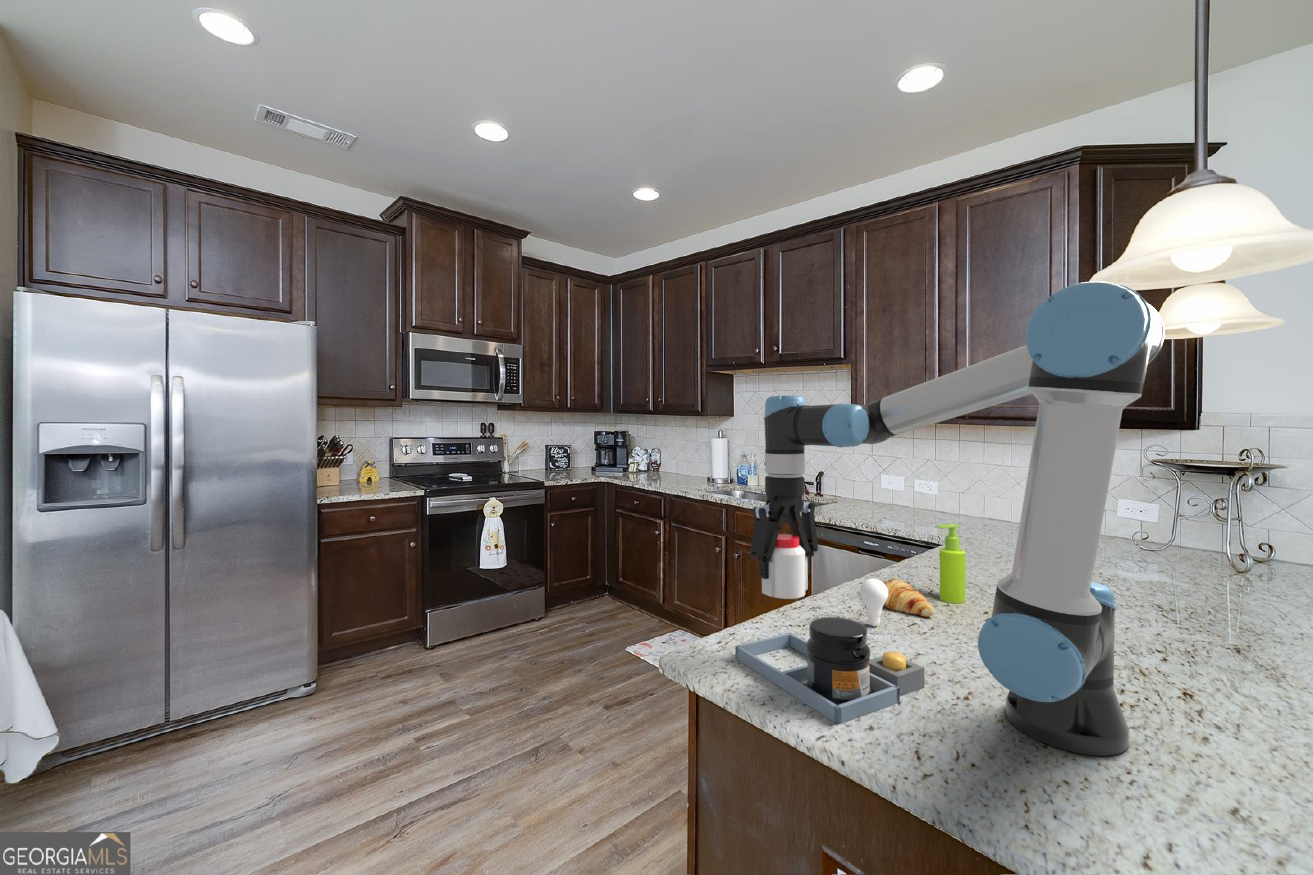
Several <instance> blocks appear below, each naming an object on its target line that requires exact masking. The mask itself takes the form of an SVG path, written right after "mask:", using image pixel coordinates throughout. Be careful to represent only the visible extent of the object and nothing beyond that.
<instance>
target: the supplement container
mask: <svg viewBox="0 0 1313 875" xmlns="http://www.w3.org/2000/svg"><path fill="white" fill-rule="evenodd" d="M808 628H809V638H808V639H807V640H806V641H807V644H806V647H807V655H806V656H807V657H806V658H807V659H806V660H807V662H806V665H807V681H806V687H808V688H809V689H811V690H813V691H814V692H816V693H818V694H819V695H821V696H823V697H824V698H826V699H828V700H829V701H831V702H833V703H834V704H836V705H840V704H843V703H846V702H849V701H852V700H855V699H858V698H861V697H864V696H866V695H869V694H871V689H870V657H871V648H870V646H869V645H868V643H867V642H868V629H867V627H865V625H863V624H861V623H860V622H857V621H855V620H851V619H849V618H842V617H835V616H834V617H831V616H830V617H829V616H828V617H820V618H816V619H813V620H812V621H811V622H810V623H809V627H808Z"/></svg>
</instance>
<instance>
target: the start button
mask: <svg viewBox="0 0 1313 875" xmlns="http://www.w3.org/2000/svg"><path fill="white" fill-rule="evenodd" d="M882 656H883V666H885V667H887V668H889V669H891V670H893V671H895V672H898V671H901V670H904V669H906V660H907V657H906V656H905V655H904V654H902V653H900V652H895V651H887V652H884V653H882Z"/></svg>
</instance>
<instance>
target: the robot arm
mask: <svg viewBox="0 0 1313 875" xmlns="http://www.w3.org/2000/svg"><path fill="white" fill-rule="evenodd" d="M1164 340H1165V324H1164V321H1163V319H1162V317H1161V315H1160V313H1159V312H1158V311H1157V310H1156V308H1155V307H1153V306H1152V304H1149V303H1148V302H1147V301H1146V300H1145V299H1144V298H1143V297H1142V296H1141V294H1140V293H1138V292H1137V291H1136V290H1134V289H1132V288H1130V287H1128V286H1126V285H1124V284H1123V285H1122V284H1118V283H1113V282H1107V281H1097V280H1095V281H1085V282H1080V283H1075V284H1072V285H1068V286H1065V287H1064V288H1062V289H1060V290H1057V291H1056V292H1054V293H1053V294H1051V295H1050V296H1049V297H1047V298H1046V299H1045V300H1043V302H1041V303H1040V304H1039V306H1038V307H1037V308H1036V309H1035V310H1034V312H1033V313H1032V315H1031V316H1030V319H1029V320H1028V322H1027V326H1026V330H1025V344H1026V345H1023V346H1020V347H1017V348H1014V349H1011V350H1009V351H1006V352H1004V353H1001V354H998V355H996V356H993V357H990V358H987V359H984V360H981V361H979V362H977V363H974V364H971V365H968V366H965V367H963V368H960V369H958V370H955V371H952V372H949V373H946V374H944V375H941V376H938V377H935V378H933V379H930V380H927V381H925V382H922V383H919V384H917V385H914V386H911V387H909V388H906V389H903V390H900V391H898V392H895V393H892V394H890V395H887V396H884V397H882V398H879V399H876V400H873V401H871V402H868V403H864V404H856V403H855V404H854V403H853V404H850V403H842V402H841V403H837V404H836V403H835V404H834V403H833V404H832V403H831V404H819V405H817V404H816V405H809V404H808V405H806V403H805V397H803V396H802V395H795V394H794V395H771V396H768V398H766V400H765V406H764V416H763V420H764V441H765V442H764V443H765V449H764V472H765V473H766V474H767V475H766V477H765V478H764V493H765V495H766V500H765V504H764V505H762V506H754V507H753V508H752V512H753V528H752V536H751V544H750V552H749V556H750V558H751V559H754V560H757V561H758V562H759V563H758V564H759V566H758V567H759V568H758V575H759V577H760V579H761V594H764V595H765V596H768V597H769V598H772V597H773V596H774V562H771V561H770V560H771V557H772V554H773V550H774V547H775V544H776V541H777V538H778V534H780V530H782V529H783V527H784V525H785V524H787V525H789V528H790V532H791V535H795V536H798V537H799V545H800V546H801V547H802V548H803V549H804V550H805V591H807V590H808V589H809V588H808V587H809V586H808V585H809V580H808V576H809V575H808V574H809V572H810V567H811V566H810V562H811V560H810V558H812V557H813V558H814V555H815V553H816V552H818V551H819V545H818V544H819V543H818V535H817V529H816V528H817V527H816V518H815V510H816V504H815V502H811V501H810V502H809V501H805V500H803V496H804V495H805V494H806V492H805V490H806V489H805V488H806V487H805V485H806V483H805V479H806V478H805V477H804V476H803V475H804V474H805V473H806V472H805V470H806V468H805V467H806V466H805V464H806V463H805V459H806V457H805V446H817V447H818V446H821V447H837V448H850V447H858V446H860V445H876V444H879V443H883V442H886V441H887V440H889V439H890V438H893V437H895V436H898V435H900V434H904V433H907V432H911V431H914V430H918V429H922V428H924V427H928V426H930V425H934V424H937V423H940V422H943V421H947V420H951V419H954V418H956V417H957V418H958V417H961V416H964V415H966V414H970V413H973V412H977V411H980V410H984V409H987V408H990V407H993V406H996V405H1000V404H1002V403H1007V402H1010V401H1013V400H1017V399H1019V398H1023V397H1026V396H1030V395H1033V396H1034V397H1035V398H1036V399H1037V401H1038V403H1039V404H1038V409H1037V410H1038V411H1037V415H1036V421H1035V422H1036V423H1035V428H1034V435H1033V439H1032V440H1033V442H1032V447H1031V452H1030V457H1029V458H1030V459H1029V465H1028V472H1027V477H1026V484H1025V490H1024V496H1023V502H1022V509H1021V515H1020V521H1019V527H1018V534H1017V540H1016V546H1015V551H1014V557H1013V565H1012V569H1011V570H1012V571H1011V573H1009V574H1007V575H1005V576H1003V577H1001V578H999V579H998V580H997V584H996V587H995V588H996V589H995V595H994V601H993V606H992V612H991V617H989V618H987V619H986V620H985V622H984V623H983V624H982V628H981V629H980V631H979V633H978V637H977V649H978V653H979V656H980V659H981V662H982V663H983V665H984V667H985V668H986V669H987V670H988V672H989V673H990V674H991V675H992V678H994V680H996V681H997V682H998V683H999V684H1000V685H1001V686H1002V687H1003V688H1005V689H1006V690H1008V693H1007V696H1006V697H1005V698H1006V699H1005V715H1006V718H1007V719H1008V721H1009V722H1010V723H1011V724H1012V725H1013V726H1014V727H1015V728H1017V729H1018V730H1019V731H1021V732H1022V733H1024V734H1025V735H1027V736H1029V737H1031V738H1033V739H1034V740H1037V741H1039V742H1041V743H1044V744H1046V745H1048V746H1052V747H1055V748H1057V749H1060V750H1064V751H1066V752H1067V751H1068V752H1072V753H1076V754H1082V755H1088V756H1099V757H1100V756H1101V757H1102V756H1103V757H1104V756H1105V757H1106V756H1108V757H1109V756H1115V755H1119V754H1122V753H1124V752H1126V751H1127V750H1128V748H1129V745H1130V729H1129V726H1128V723H1127V720H1126V718H1125V715H1124V712H1123V710H1122V707H1121V704H1120V702H1119V699H1118V695H1117V694H1116V690H1115V686H1114V685H1115V684H1114V683H1115V682H1114V678H1115V677H1114V676H1115V674H1114V673H1115V612H1117V606H1116V604H1115V595H1114V592H1113V590H1112V589H1111V588H1110V587H1108V586H1106V585H1103V584H1101V583H1098V582H1093V581H1092V580H1093V575H1094V570H1095V563H1096V558H1097V554H1098V553H1097V552H1098V547H1099V541H1100V536H1101V531H1102V525H1103V519H1104V516H1105V515H1104V514H1105V508H1106V502H1107V497H1108V492H1109V486H1110V483H1111V482H1110V481H1111V476H1112V471H1113V470H1112V469H1113V466H1114V465H1113V464H1114V460H1115V459H1114V458H1115V453H1116V448H1117V443H1118V442H1117V441H1118V438H1119V431H1120V427H1121V426H1120V425H1121V420H1122V414H1123V410H1125V408H1126V407H1127V406H1129V405H1130V404H1132V403H1133V402H1135V401H1137V400H1139V399H1140V398H1142V396H1143V395H1142V394H1143V391H1144V390H1143V389H1144V384H1145V379H1146V375H1147V368H1148V365H1149V364H1150V363H1152V361H1153V360H1154V359H1155V358H1156V357H1157V356H1158V354H1159V353H1160V351H1161V350H1162V347H1163V343H1164ZM773 598H774V597H773Z"/></svg>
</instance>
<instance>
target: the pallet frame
mask: <svg viewBox="0 0 1313 875" xmlns="http://www.w3.org/2000/svg"><path fill="white" fill-rule="evenodd" d="M807 641H808V640H806V639H803V638H802V637H800V636H798V635H796V634H794V633H792V632H788V633H784V634H779V635H774V636H771V637H767V638H762V639H759V640H755V641H751V642H750V641H749V642H746V643H742V644H737V645H734V647H735V648H734V649H735V654H734V655H735V659H736V660H737V659H738V661H739V662H741V663H742V664H744V665H745V666H747V667H748V668H750V669H751V668H752V669H751V670H753V671H754V670H755V671H754V672H756V673H757V674H759V675H761V676H762V677H763V678H765V679H767V680H768V681H770V682H772V683H773V684H775V685H777V686H778V687H779V688H781V689H782V690H784V691H785V692H787V693H788V694H790V695H792V696H793V697H795V698H796V699H798V700H799V701H800V702H802V703H804V704H805V705H807V706H809V707H810V708H812V709H814V710H815V711H816V712H818V713H819V714H821V715H822V716H824V717H825V718H827V719H828V720H830V721H832V723H834V724H835V723H836V725H840V724H843V723H845V722H849V721H852V720H854V719H857V718H860V717H862V716H866V715H868V714H871V713H874V712H876V711H880V710H882V709H885V708H888V707H889V706H890V707H891V706H893V705H895V704H898V703H900V702H901V701H900V698H901V696H900V687H898V686H896V685H894V684H892V683H890V682H888V681H886V680H884V679H882V678H880V677H878V676H876V675H874V674H872V673H870V691H874V692H873V693H870V694H869V695H866V696H864V697H861V698H858V699H855V700H852V701H849V702H846V703H843V704H840V705H836V704H834V703H833V702H831V701H829V700H828V699H826V698H824V697H823V696H821V695H819V694H818V693H816V692H814V691H813V690H811V689H809V688H808V687H807V685H805V684H802V683H803V682H804V683H805V682H807V664H804V665H801V666H798V667H794V668H790V669H787V670H783V671H782V670H780V669H779V668H776V667H775V666H773V665H771V664H769V663H768V662H766V661H765V660H763V659H761V657H758V655H761V654H766V653H769V652H773V651H777V650H781V649H785V648H788V647H791V648H793V649H795V650H796V651H798V652H800V653H802V654H804V655H806V656H807V647H806V644H807Z"/></svg>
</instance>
